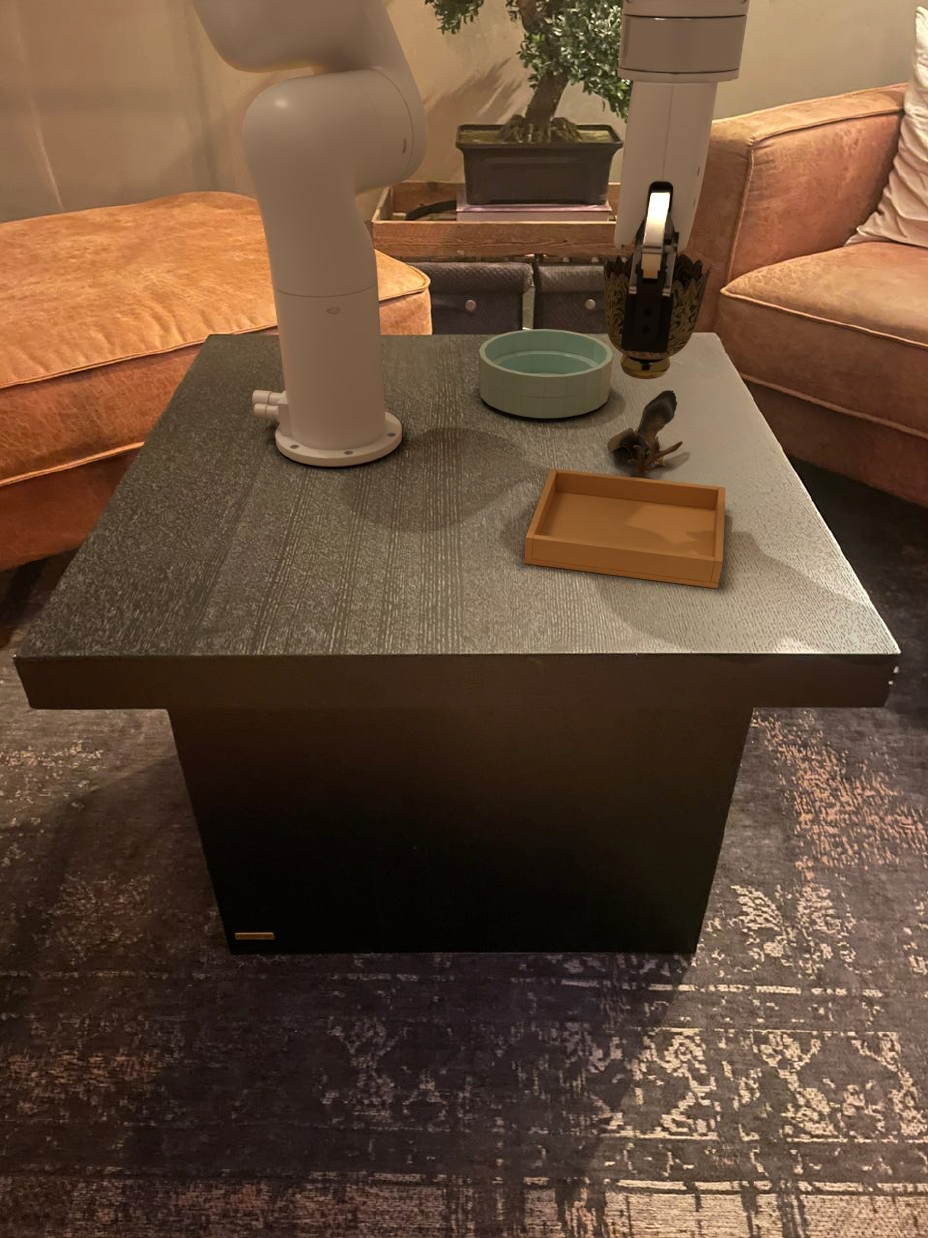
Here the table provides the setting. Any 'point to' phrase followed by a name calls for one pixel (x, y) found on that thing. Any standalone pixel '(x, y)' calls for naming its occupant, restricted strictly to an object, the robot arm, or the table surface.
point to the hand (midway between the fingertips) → (648, 329)
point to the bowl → (545, 373)
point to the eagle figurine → (648, 434)
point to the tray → (629, 527)
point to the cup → (684, 317)
